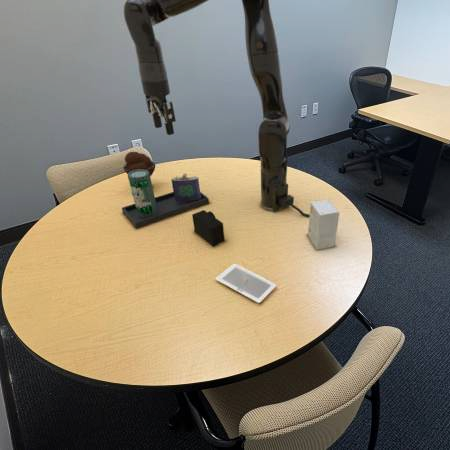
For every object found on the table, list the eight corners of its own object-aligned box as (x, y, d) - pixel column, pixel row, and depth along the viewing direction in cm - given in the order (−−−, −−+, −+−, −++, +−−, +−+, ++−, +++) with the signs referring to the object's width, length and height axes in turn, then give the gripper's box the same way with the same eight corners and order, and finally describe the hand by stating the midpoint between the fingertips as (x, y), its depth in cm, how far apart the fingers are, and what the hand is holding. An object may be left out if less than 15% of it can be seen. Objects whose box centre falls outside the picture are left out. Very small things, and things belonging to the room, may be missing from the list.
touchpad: (234, 266, 96) (234, 260, 95) (277, 287, 90) (277, 282, 89) (215, 281, 91) (214, 275, 90) (259, 306, 85) (259, 300, 83)
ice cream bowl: (150, 196, 125) (141, 159, 117) (123, 192, 127) (112, 155, 118) (165, 183, 134) (158, 148, 125) (139, 179, 135) (131, 144, 127)
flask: (201, 197, 126) (197, 171, 119) (201, 201, 123) (197, 175, 117) (175, 199, 123) (170, 173, 117) (174, 203, 121) (169, 176, 115)
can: (134, 215, 114) (123, 175, 105) (147, 206, 118) (138, 167, 110) (148, 219, 112) (138, 179, 103) (161, 211, 117) (152, 171, 108)
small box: (335, 246, 106) (340, 212, 99) (316, 250, 104) (320, 215, 97) (324, 232, 113) (328, 198, 105) (307, 235, 111) (310, 201, 103)
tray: (209, 203, 124) (208, 198, 122) (136, 229, 108) (135, 223, 107) (193, 190, 131) (192, 185, 129) (123, 213, 115) (121, 207, 114)
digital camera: (228, 239, 106) (226, 221, 102) (213, 246, 103) (211, 228, 99) (209, 225, 112) (206, 208, 108) (194, 232, 109) (192, 214, 105)
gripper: (177, 80, 98) (185, 134, 108) (155, 72, 107) (165, 123, 116) (152, 83, 94) (163, 139, 103) (131, 74, 102) (143, 127, 111)
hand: (164, 130), depth 110 cm, fingers open, 8 cm apart
